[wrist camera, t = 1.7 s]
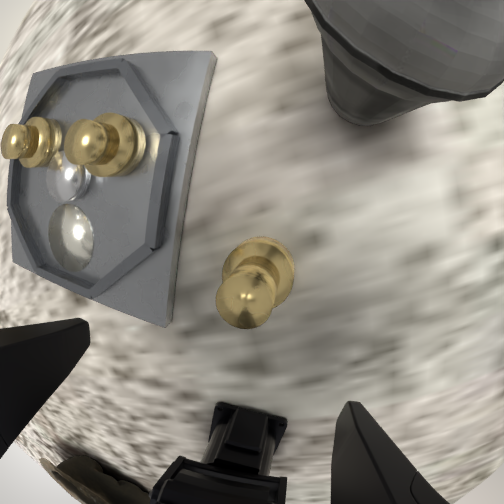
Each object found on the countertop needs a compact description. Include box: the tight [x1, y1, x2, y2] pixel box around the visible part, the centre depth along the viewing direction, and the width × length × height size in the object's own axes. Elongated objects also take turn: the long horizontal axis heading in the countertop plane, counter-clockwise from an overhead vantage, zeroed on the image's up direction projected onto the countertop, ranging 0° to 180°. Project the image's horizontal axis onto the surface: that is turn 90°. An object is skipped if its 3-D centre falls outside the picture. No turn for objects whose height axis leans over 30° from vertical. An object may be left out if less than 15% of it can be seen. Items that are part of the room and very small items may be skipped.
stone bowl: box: [39, 456, 151, 504], centre depth 30 cm, size 25×25×9 cm
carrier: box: [1, 51, 217, 328], centre depth 18 cm, size 20×20×6 cm
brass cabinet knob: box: [216, 237, 295, 329], centre depth 17 cm, size 4×4×6 cm
